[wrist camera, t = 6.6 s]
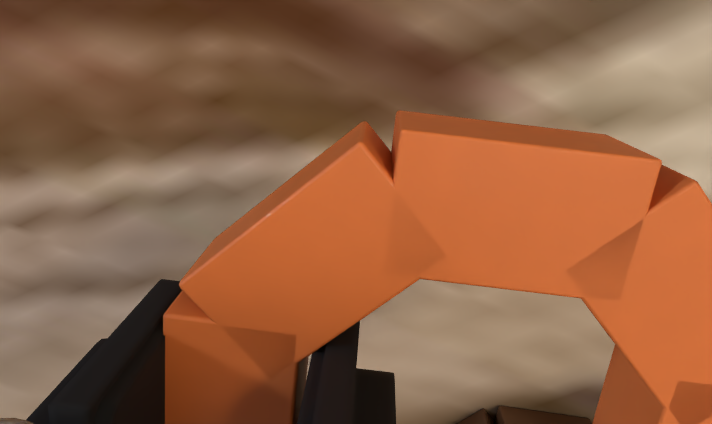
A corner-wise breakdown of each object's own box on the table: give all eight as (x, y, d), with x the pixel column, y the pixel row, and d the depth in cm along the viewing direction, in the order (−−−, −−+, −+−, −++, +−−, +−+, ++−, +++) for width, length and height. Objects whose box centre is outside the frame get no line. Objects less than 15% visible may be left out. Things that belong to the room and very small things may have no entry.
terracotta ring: (193, 541, 13) (160, 631, 11) (205, 86, 10) (162, 101, 8) (641, 597, 13) (686, 697, 11) (801, 157, 10) (907, 188, 8)
